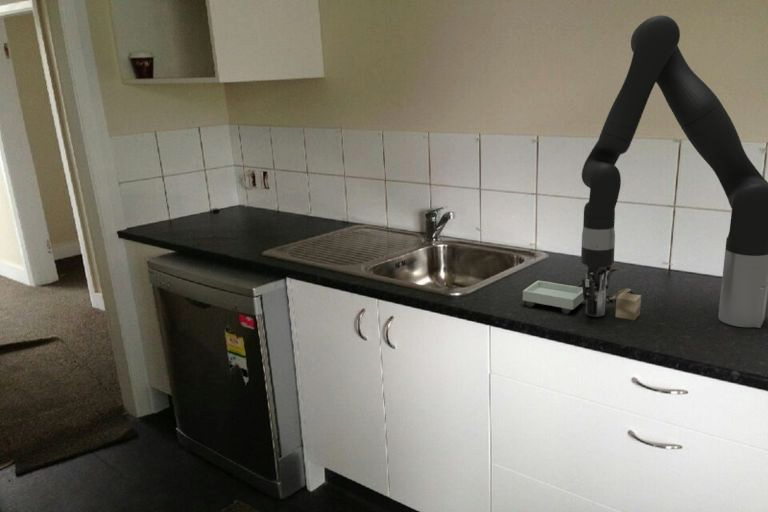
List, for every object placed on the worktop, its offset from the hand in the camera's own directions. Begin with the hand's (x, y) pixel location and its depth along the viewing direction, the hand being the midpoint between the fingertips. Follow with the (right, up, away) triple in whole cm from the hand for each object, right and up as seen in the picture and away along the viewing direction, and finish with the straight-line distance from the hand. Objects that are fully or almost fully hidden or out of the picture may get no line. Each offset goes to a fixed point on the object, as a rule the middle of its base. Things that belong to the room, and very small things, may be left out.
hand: (595, 310), depth 159 cm
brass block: (+8, -1, -1) cm, 8 cm away
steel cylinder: (0, -1, 0) cm, 1 cm away
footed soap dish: (-8, +1, +8) cm, 11 cm away
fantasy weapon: (+11, +5, +20) cm, 23 cm away
